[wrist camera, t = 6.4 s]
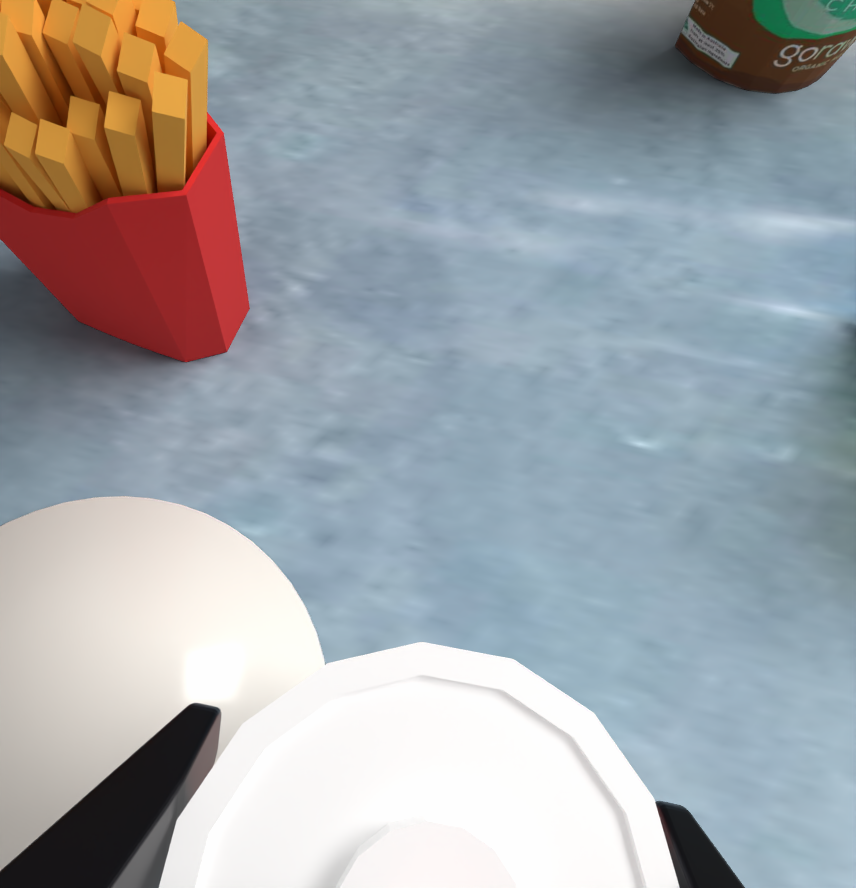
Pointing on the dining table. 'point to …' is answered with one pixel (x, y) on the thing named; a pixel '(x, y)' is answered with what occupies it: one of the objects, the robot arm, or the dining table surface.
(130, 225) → the french fries
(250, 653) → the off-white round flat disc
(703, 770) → the dining table surface
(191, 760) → the robot arm
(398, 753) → the beverage cup
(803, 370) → the dining table surface
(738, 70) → the food container
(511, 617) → the dining table surface
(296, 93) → the dining table surface
